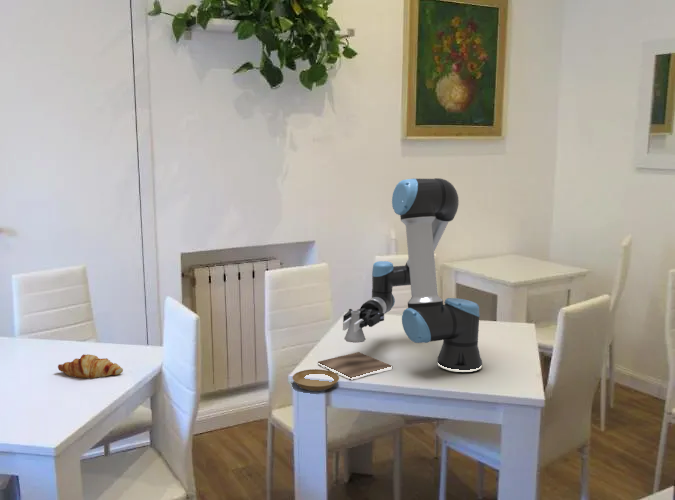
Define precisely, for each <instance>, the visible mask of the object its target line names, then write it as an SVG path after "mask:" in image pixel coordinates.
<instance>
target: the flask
mask: <svg viewBox="0 0 675 500" xmlns="http://www.w3.org/2000/svg"><path fill="white" fill-rule="evenodd" d="M352 310H353V311H351V313H352V318H351V322H350V327H349V328H348V329H347V330H346V333H345V336H344V340H345V341H346V342H347V343H363V342H365V341H366V336H365V333H364V330H363V328H361V329H359V330H358V331H357V332H354V323H356V322H357V321H359V320H360V318H359V314H360V311H357V310H358V309H356V310H354V309H352Z"/></svg>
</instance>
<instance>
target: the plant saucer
mask: <svg viewBox="0 0 675 500" xmlns="http://www.w3.org/2000/svg"><path fill="white" fill-rule="evenodd" d="M309 374H325V375H328V376H330V377H332V378H333V379H334V381H332V382H329V381H319V380H310V379H305V378H304V377H305V376H306V375H309ZM291 378H292V381H293V383H295V385H297V386H298V387H299V388H300V389H302V390H305V391H311V392H321V391H326V390H330V389H331V388H332V387H334V386H335V385H336V384H337V383H338V382H339V381H340V375H338V374H336V373H334V372H332V371H329V370H327V369H318V368H317V369H316V368H314V369H313V368H312V369H305V370H304V369H303V370H300V371H298V372H296V373H294V374H293V375H292V377H291Z"/></svg>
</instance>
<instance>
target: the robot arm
mask: <svg viewBox="0 0 675 500" xmlns="http://www.w3.org/2000/svg"><path fill="white" fill-rule="evenodd" d="M391 197H392V199H391V200H392V201H391V204H392V205H391V206H392V209H393V212H394V213H395V214H396V215H398V216H399V217H400V218H399V219H400V222H401V223H402V224H404V225H405V230H406V231H405V233H406V244H407V245H406V246H407V256H408V259H407V260H406V263H405V264H404V265H394V263H392V262H390V261H386V260H385V261H383V260H380V261H375V262H374V263H373V266H372V270H371V271H372V272H371V273H372V275H371V277H372V281H371V284H372V285H371V287H372V289H371V298H369V299H368V300H367V301H365V302H363V304H362V305H361V306H360V308H358V309H356V310H357V311H360V314H359V318H360V320H359V321H357V322H356V323H354V332H357V331H358V330H359V329H361V328H362V329H363V328H365V327H367V326H368V327H370V328H372V327H374V326H375V325H377V324H379V323H380V322H384V321H385V314H387V313H388V312H390V311H391V310H392V308H393V307H394V305H395V301H396V300H395V296H394V294H393V287H402V286H405V287H406V286H410V294H411V297H410V299H409V300H408V301H407V308H406V309H404V310H403V312H402V315H401V325H402V328H403V331H404V333H405V335H406V336H407V338H408V339H409V340H410V341H411V342H413V343H415V344H421V343H425V344H427V343H430V342H436V341H437V342H438V341H442V342H443V343H442V345H441V348H440V350H439V354H438V356H437V358H436V359H437V362H438V363H439V364H440V365H442V366H444V367H447V368H451V369H459V370H470V369H476V368H479V367H480V366H481V365H482V366H483V359H482V357H481V354H480V349H479V327H480V326H479V325H480V317H481V315H480V305H479V304H478V303H477V302H475V301H471V300H468V299H464V298H456V297H448V298H446V299H445V301H444V300H443V299H442V298H441V297H440V296H439V293H438V284H437V283H438V281H437V272H436V271H437V269H436V259H435V251H436V249H437V246H439V245H438V244H439V243H440V241H441V238H442V236H443V234H444V232H445V230H446V228H447V226H448V224H449V222H452V221H453V220H454V219H455V216H456V215H457V212H458V209H459V205H460V204H459V203H460V201H459V194H458V191H457V189H456V188H455V187H454V185H453V184H452V182H450V181H449V180H446V179H444V178H438V177H437V178H408V179H402V180H400V181H398V183H397V184H396V185H395V188H394V189H393V192H392V196H391ZM353 310H354V309H352V308H349V309H348V311H347V312H345V314H344V315H343V316H342V318H343V320H342V321H343V322H342V331H345V332H346V331H347V330H348V328H349V327H350V322H351V318H352V313H351V311H353ZM437 362H436V363H437Z"/></svg>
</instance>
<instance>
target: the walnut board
mask: <svg viewBox="0 0 675 500" xmlns="http://www.w3.org/2000/svg"><path fill="white" fill-rule="evenodd" d="M318 363H320V364H322V365H325V366H327V367H329V368H331V369H334V370H336V371H338V372H340V373H342V374H344V375H346V376H348V377H350V378H352V377H356V376H360V375H363V374H366V373H370V372H373V371H377V370H380V369H384V368H387V367H391V366H392V365H391V364H389V363H386V362H383V361H381V360H379V359H377V358H374V357H372V356H369V355H367V354H365V353H362V352H359V351H357V352H353V353H349V354H344V355H341V356H336V357H331V358H328V359H323V360H319V361H317V364H318Z"/></svg>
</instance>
